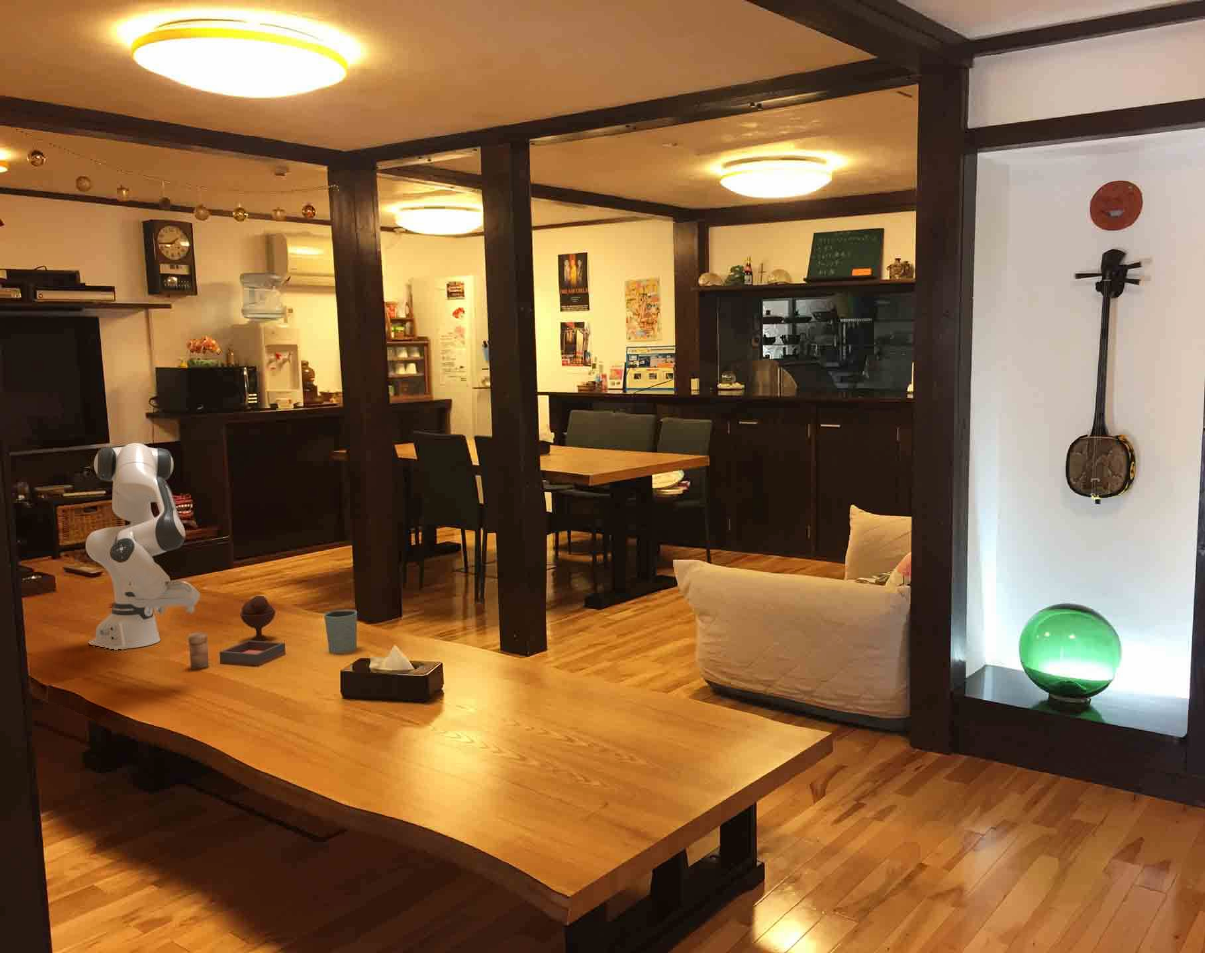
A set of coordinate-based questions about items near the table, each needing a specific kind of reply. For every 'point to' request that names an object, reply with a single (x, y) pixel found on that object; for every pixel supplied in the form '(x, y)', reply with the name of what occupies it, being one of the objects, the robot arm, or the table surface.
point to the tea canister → (198, 651)
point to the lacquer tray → (252, 653)
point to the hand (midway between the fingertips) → (177, 611)
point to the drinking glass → (341, 631)
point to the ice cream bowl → (257, 615)
